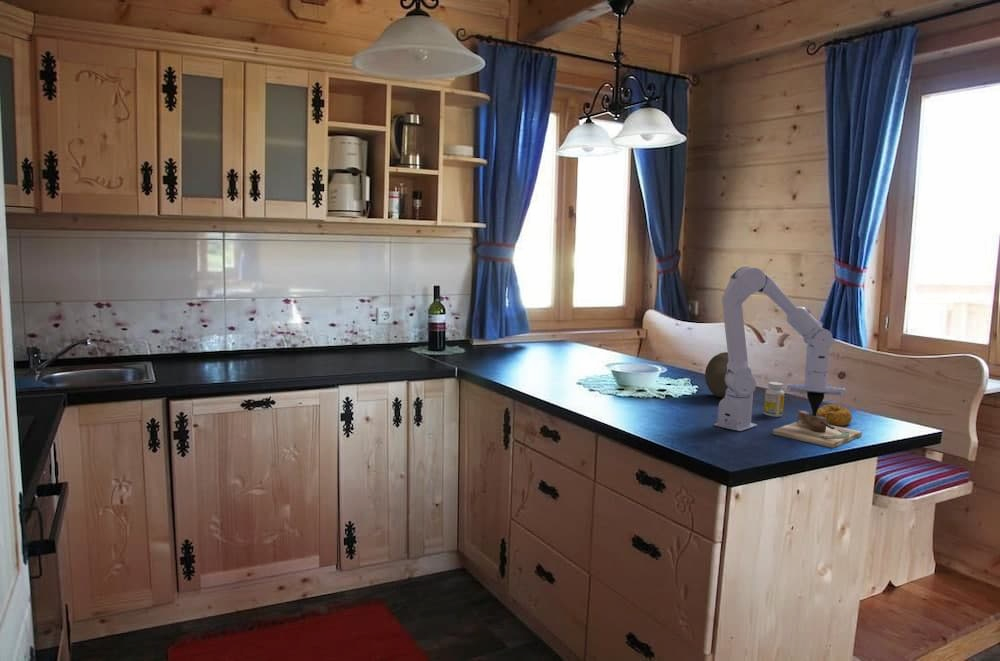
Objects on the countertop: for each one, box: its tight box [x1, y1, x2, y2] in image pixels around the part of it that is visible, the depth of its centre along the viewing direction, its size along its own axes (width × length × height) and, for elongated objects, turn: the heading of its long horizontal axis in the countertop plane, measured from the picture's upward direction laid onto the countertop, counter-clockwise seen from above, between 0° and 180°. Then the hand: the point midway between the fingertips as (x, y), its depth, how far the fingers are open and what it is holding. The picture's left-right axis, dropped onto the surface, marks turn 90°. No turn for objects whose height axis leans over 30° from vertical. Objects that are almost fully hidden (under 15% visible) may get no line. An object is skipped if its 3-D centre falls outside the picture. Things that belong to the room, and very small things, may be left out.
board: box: [772, 420, 863, 449], centre depth 192 cm, size 18×16×1 cm
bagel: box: [816, 404, 853, 427], centre depth 207 cm, size 10×11×5 cm
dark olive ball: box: [704, 351, 728, 399], centre depth 234 cm, size 14×14×15 cm
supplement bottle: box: [763, 381, 785, 418], centre depth 213 cm, size 5×5×10 cm
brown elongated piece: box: [797, 410, 835, 432], centre depth 193 cm, size 18×4×3 cm, turn 3°
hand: (813, 419), depth 198 cm, fingers closed, pressing on brown elongated piece
